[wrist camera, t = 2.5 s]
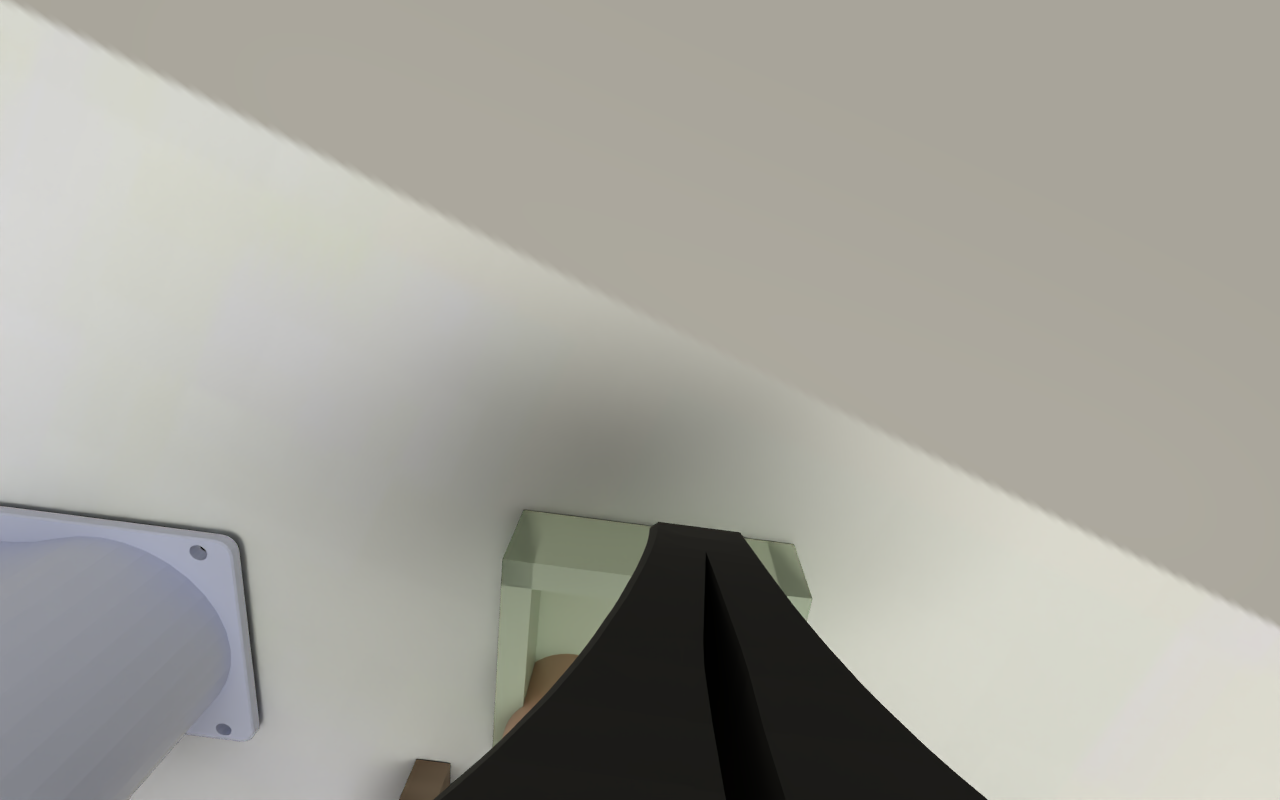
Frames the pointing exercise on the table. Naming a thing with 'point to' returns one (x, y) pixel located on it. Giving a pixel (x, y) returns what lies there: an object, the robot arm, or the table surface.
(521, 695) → the tray
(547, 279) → the table surface
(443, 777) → the shelf
